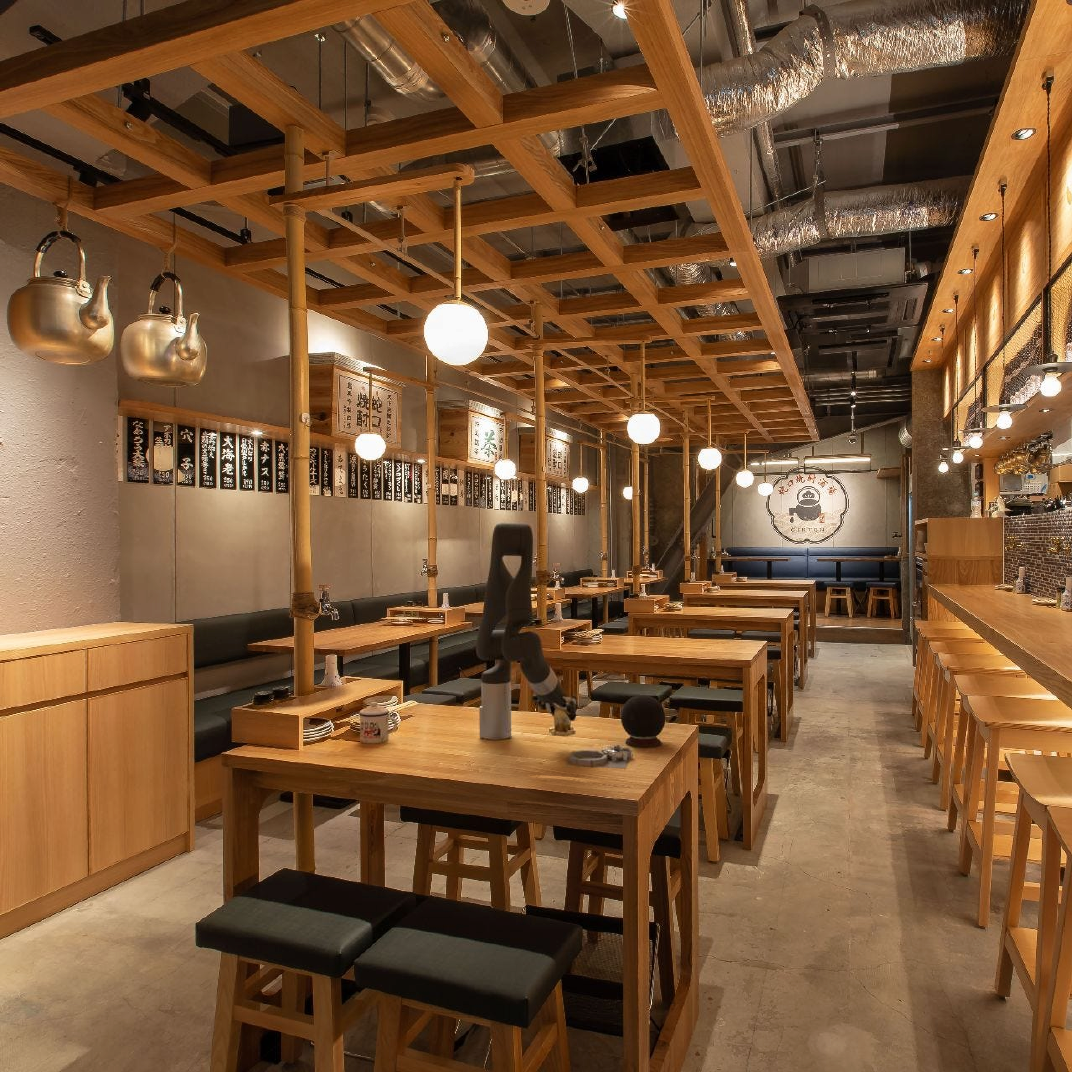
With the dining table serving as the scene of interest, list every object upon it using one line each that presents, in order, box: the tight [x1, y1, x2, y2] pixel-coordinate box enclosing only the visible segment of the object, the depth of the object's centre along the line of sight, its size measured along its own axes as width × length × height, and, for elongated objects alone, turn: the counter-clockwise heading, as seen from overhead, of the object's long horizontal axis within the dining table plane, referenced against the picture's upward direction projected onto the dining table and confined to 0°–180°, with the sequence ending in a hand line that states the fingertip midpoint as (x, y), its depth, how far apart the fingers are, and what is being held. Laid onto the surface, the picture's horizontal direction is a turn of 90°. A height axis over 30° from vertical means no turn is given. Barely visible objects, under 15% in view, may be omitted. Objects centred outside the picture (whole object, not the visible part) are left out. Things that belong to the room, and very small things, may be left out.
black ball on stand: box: [620, 694, 667, 749], centre depth 227 cm, size 13×13×15 cm
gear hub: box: [548, 706, 577, 737], centre depth 220 cm, size 8×7×10 cm
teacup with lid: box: [358, 701, 398, 744], centre depth 237 cm, size 12×9×12 cm
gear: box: [601, 744, 633, 761], centre depth 212 cm, size 8×8×3 cm
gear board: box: [565, 749, 634, 770], centre depth 210 cm, size 16×14×2 cm
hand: (565, 717), depth 221 cm, fingers closed on gear hub, 4 cm apart
